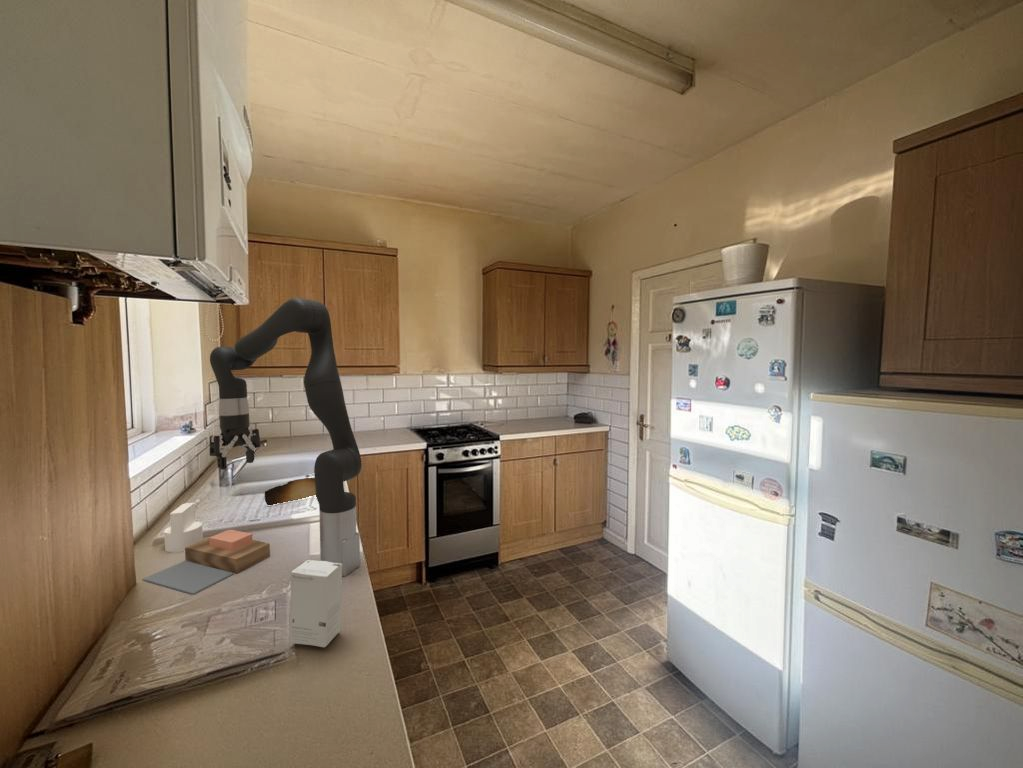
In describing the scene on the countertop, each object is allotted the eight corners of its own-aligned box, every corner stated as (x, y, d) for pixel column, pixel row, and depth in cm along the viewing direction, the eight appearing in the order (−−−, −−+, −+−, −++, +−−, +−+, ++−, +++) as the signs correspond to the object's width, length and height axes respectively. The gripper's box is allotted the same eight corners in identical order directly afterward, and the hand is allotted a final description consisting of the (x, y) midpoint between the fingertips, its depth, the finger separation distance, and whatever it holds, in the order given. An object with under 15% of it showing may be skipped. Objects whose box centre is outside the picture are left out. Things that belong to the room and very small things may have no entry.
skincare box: (288, 644, 82) (287, 572, 81) (307, 625, 88) (306, 558, 87) (327, 648, 81) (326, 576, 80) (344, 628, 87) (342, 561, 86)
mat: (233, 574, 108) (233, 573, 108) (193, 594, 99) (193, 593, 98) (184, 562, 114) (184, 560, 114) (142, 580, 105) (142, 578, 105)
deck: (270, 556, 118) (269, 543, 117) (236, 573, 108) (236, 559, 108) (220, 545, 124) (220, 533, 124) (185, 561, 115) (184, 547, 115)
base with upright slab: (173, 542, 127) (171, 504, 126) (207, 538, 129) (206, 501, 129) (158, 555, 118) (156, 515, 117) (195, 551, 121) (194, 511, 120)
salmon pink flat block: (252, 541, 118) (252, 533, 118) (232, 550, 113) (232, 542, 113) (230, 537, 121) (229, 529, 121) (209, 545, 116) (209, 537, 115)
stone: (334, 496, 169) (334, 496, 170) (334, 473, 168) (333, 473, 168) (265, 510, 154) (265, 510, 155) (264, 485, 153) (264, 485, 153)
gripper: (219, 416, 115) (222, 472, 116) (264, 410, 129) (267, 461, 129) (201, 415, 118) (204, 471, 118) (247, 410, 131) (249, 459, 132)
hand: (237, 465), depth 124 cm, fingers open, 8 cm apart
